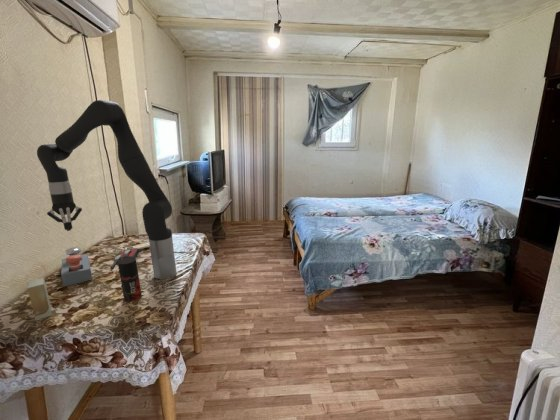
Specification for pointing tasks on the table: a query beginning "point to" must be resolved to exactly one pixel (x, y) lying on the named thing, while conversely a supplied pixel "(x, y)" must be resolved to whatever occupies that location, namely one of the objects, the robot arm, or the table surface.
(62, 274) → the press block
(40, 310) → the skincare box
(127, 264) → the deodorant
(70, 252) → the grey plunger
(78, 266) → the red plunger
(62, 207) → the robot arm
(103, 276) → the table surface
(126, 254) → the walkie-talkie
